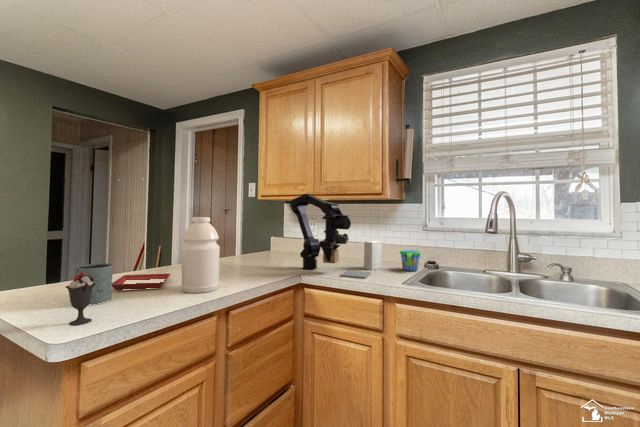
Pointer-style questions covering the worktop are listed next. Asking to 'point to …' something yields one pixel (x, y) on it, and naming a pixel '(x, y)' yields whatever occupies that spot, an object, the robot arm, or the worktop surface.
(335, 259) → the walnut cube
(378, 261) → the skincare box
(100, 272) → the blue-grey pot
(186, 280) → the bottle
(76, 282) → the sundae
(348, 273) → the slate mat
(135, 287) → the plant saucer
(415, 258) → the snack cup
